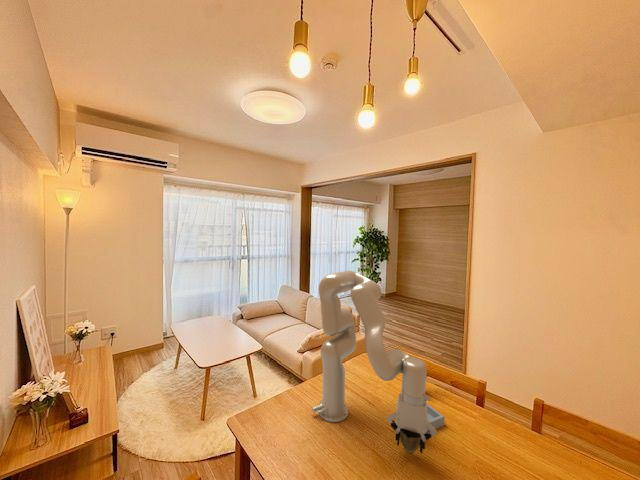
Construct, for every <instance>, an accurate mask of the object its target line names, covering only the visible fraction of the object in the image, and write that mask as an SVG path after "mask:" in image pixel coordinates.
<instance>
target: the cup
mask: <svg viewBox="0 0 640 480" xmlns="http://www.w3.org/2000/svg"><path fill="white" fill-rule="evenodd" d="M399 442H400V443H401V446H402V447H403V450H404V451H405V453H406V454H408V455H413V454H414V453H415V452H416V451H417V450H418V449H420V442H421V436H420V433H416V432H412V431H409V430H406V429H401V430H400V441H399Z"/></svg>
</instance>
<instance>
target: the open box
mask: <svg viewBox="0 0 640 480" xmlns="http://www.w3.org/2000/svg"><path fill="white" fill-rule="evenodd" d="M445 418H446V417H445V416H444V414H442V413H441V412H439V411H438V410H437V409H435V408H434V407H432V405H430V404H429V403H427V420H428V421H429V423H430V424H431V425H432V426H433V427H434V428H435V429H436V430H437V429H441V428H442V427H444V426H445ZM427 431H430V430H429V429H428V427H427Z"/></svg>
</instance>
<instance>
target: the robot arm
mask: <svg viewBox="0 0 640 480" xmlns="http://www.w3.org/2000/svg"><path fill="white" fill-rule="evenodd" d="M346 292H350V298H351V301H352V303H353V305H354V307H355V309H356V312H357V314H358V316H359V318H360V321H361V322H362V326H363V327H364V344H365V351H366V355H367V358H368V360H369V362H370V365H371V367H372V369H373V370H374V373H375V374H376V376H377V377H378V378H379V379H381V380H383V381H384V382H389V381H392V380H394V379H395V378H397V377H398V375H399V374H401V375H402V376H401V392H400V393H399V394H398V396H397V400H396V409H395V411H394V412H392V413H390V414H388V415H387V416H386V420H387V422H388V424H390V427H391V429H393V431H394V433H395V437H394V440H395V441H396V445H397V446H400V442H401V441H400V430H401V429H406V430H409V431H412V432H416V433H420V436H421V442H420V445H419V452H420V453H421V454H423V450H426V449H425V448H426V442H427V440H429V439H431V438H432V437H434V436H435V435H436V434H437V429H435V428H434V427H433V426H432V425H431V424H430V423H429V421H428V420H427V404H428V403H427V401H428V402H430V396H429V395H427V394H426V385H427V372H428V371H427V370H428V369H427V365H426V362H425V361H424V360H423V359H421V358H418V357H415V356H411V355H409V354H407V353H406V352H405V351H403V350H401V349H398V348H391V349H390V350H388V351H387V352H386V349H385V347H384V343H383V342H384V341H383V335H384V334H383V333H384V329H385V326H386V323H387V320H386V317H385V315H384V313H383V310H382V309H381V307H380V305H379V302H378V300H379V299H381V297H382V289H381V286H380V285H379V284H378V283H377V282H375V281H374V280H372V279H371V278H369V277H366V276H364V275H362V274H360V273H358V272H356V271H353V270H346V271H345V270H343V271H338V272H333V273H330V274H327V275H326V276H324V277H323V278H322V279H321V280H320V282H319V285H318V296H319V300H320V307H321V308H320V312H321V325H322V330H323V333H324V334H325V335H326V336H328V337H331V338H328V339H326V340H325V341H324V342H323V343H322V345H321V347H320V356H321V362H322V363H321V364H322V399H321V400H320V402H319V404H318V405H315V406H311V412H312V413H316V414H317V415H319V416H320V417H321V418H322V419H323V420H324V421H327V422H328V423H339V422H343V421H344V420H345V419H347V417H348V416H349V407H348V406H347V405H346V369H345V366H344V364H343V361H344V360H345V359H346V358H347V357H348V356H350V355H351V354H352V353H354V351H355V350H356V348H357V335H356V324H355V317H354V315H353V314H352V312H351V311H350V310H349V309H348V308H345V307H344V308H342V304H341V299H340V297H339V295H338V294H343V293H346ZM394 420H395V421H394ZM427 427H428V429H429V430H430V431H427Z"/></svg>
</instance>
